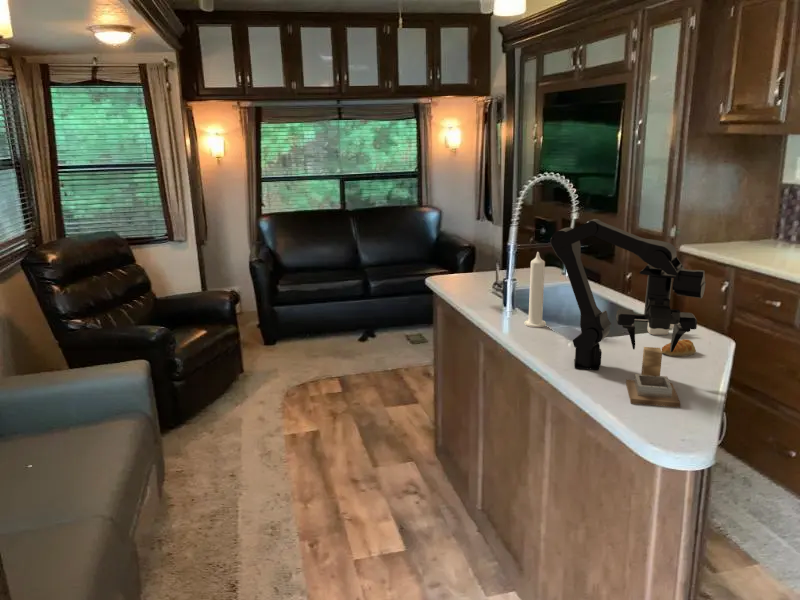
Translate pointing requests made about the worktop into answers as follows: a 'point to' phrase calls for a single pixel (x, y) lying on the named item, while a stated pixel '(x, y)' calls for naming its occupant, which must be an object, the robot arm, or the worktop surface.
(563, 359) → the worktop surface
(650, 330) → the power adapter
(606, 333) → the robot arm
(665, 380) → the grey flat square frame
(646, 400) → the plate
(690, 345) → the pastry
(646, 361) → the rail post
